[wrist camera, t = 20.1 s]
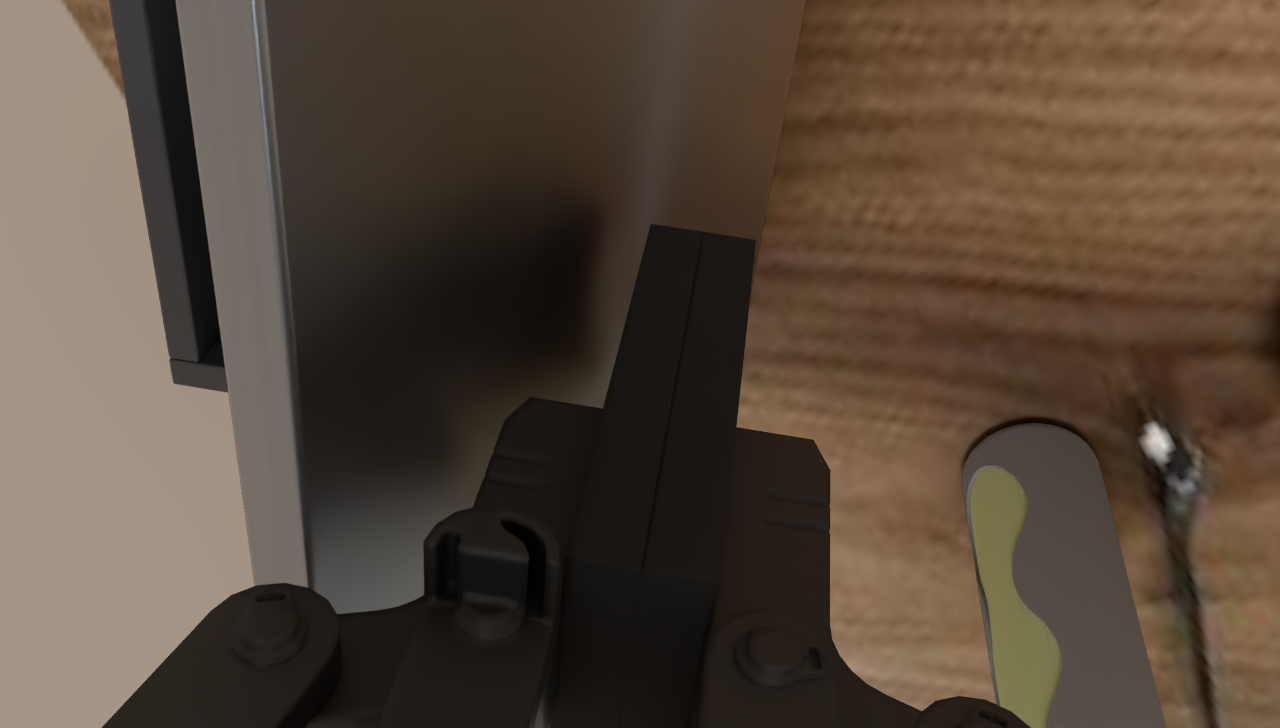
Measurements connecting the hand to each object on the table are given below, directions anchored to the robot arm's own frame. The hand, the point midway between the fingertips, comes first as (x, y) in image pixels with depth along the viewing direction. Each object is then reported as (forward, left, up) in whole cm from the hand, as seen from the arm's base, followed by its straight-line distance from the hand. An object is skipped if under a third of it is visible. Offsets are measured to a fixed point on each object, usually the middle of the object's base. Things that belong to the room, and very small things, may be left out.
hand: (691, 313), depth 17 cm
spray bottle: (+13, -18, -21) cm, 31 cm away
